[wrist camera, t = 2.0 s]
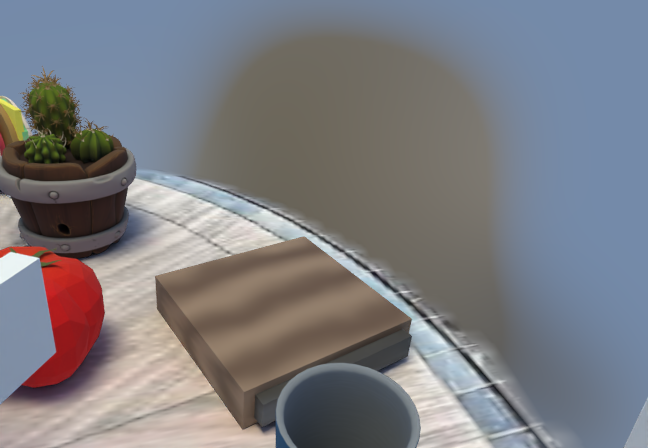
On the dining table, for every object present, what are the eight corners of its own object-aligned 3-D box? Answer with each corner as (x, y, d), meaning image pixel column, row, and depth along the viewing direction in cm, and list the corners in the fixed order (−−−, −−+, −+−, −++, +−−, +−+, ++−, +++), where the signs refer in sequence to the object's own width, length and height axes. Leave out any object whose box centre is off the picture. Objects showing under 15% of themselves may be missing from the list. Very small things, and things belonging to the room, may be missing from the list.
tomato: (-13, 436, 39) (-44, 326, 34) (-45, 341, 47) (-74, 243, 42) (135, 374, 46) (126, 276, 41) (84, 301, 54) (72, 212, 49)
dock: (157, 308, 54) (155, 276, 52) (301, 265, 64) (304, 236, 62) (250, 439, 41) (252, 402, 39) (413, 358, 51) (420, 325, 49)
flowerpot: (160, 251, 64) (152, 86, 55) (17, 284, 55) (-22, 95, 46) (123, 204, 74) (111, 57, 65) (-2, 225, 65) (-37, 61, 56)
